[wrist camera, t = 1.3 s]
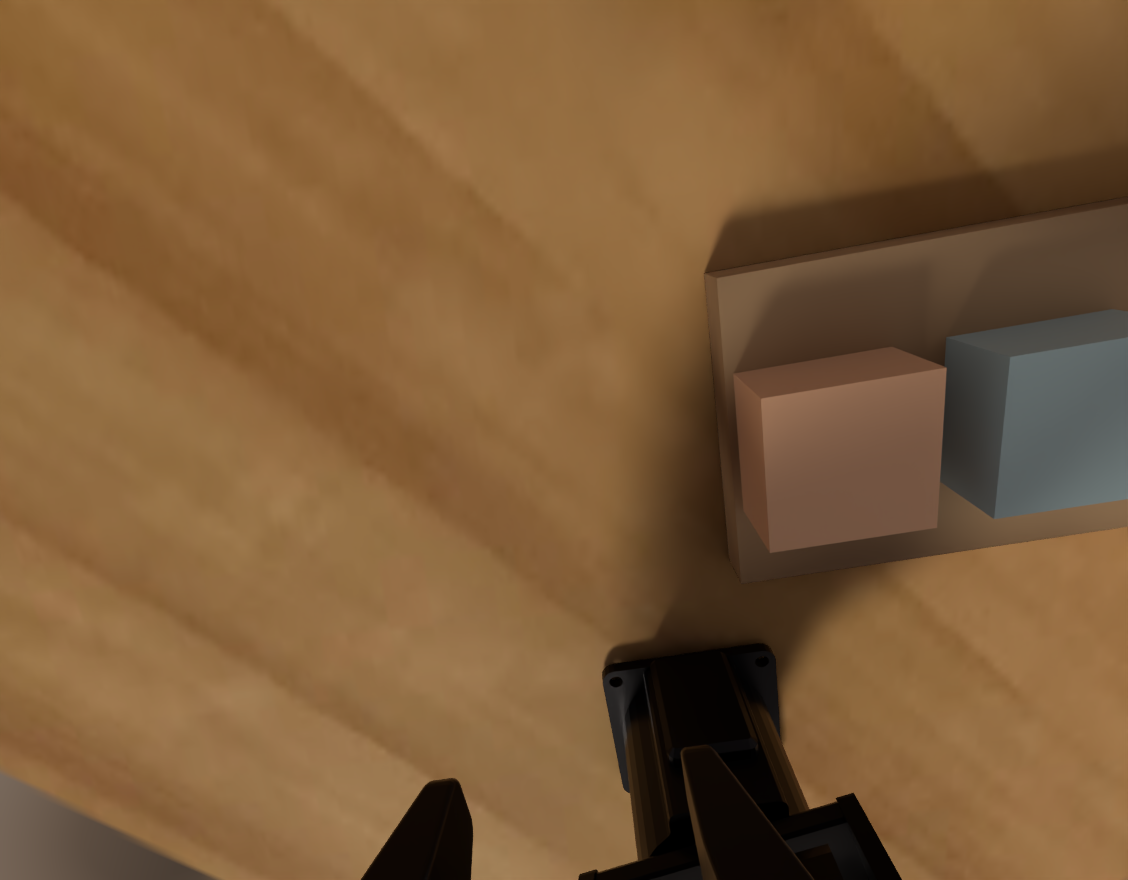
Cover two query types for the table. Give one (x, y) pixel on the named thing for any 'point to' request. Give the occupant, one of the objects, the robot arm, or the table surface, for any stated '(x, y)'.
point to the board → (911, 349)
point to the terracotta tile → (841, 447)
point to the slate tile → (1038, 414)
